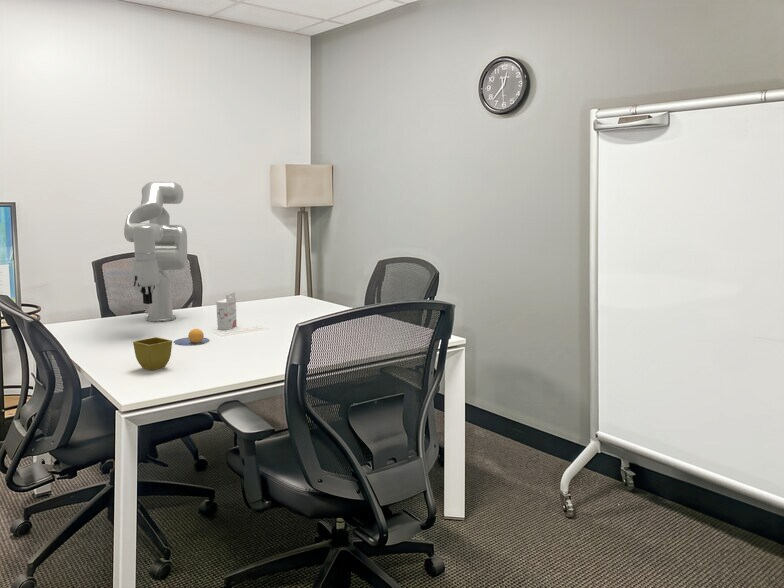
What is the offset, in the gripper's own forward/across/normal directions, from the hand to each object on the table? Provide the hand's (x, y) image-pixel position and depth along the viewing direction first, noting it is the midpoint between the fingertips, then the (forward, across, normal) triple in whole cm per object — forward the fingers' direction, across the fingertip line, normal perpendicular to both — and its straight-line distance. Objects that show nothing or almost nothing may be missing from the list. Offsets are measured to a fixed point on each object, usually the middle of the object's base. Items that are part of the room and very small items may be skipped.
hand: (147, 303), depth 249 cm
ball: (+10, +2, +26) cm, 28 cm away
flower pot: (+12, +34, +38) cm, 53 cm away
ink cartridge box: (+13, -26, +17) cm, 34 cm away
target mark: (+12, 0, +22) cm, 26 cm away
